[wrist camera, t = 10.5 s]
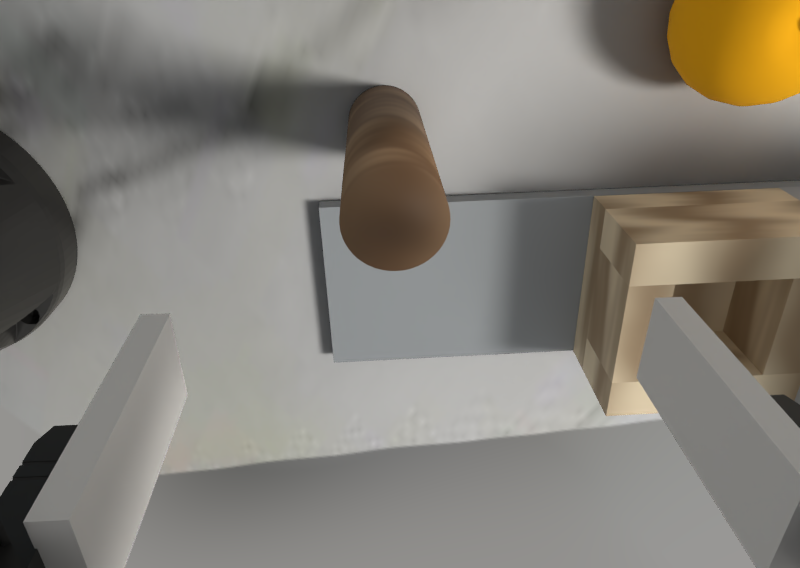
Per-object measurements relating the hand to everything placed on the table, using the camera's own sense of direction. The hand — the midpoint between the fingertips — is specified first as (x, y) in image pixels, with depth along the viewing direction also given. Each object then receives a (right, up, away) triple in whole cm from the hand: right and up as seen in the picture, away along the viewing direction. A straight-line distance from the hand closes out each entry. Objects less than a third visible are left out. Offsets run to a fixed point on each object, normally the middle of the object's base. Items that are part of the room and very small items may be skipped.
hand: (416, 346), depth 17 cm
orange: (+17, +16, +16) cm, 28 cm away
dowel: (-1, +11, +17) cm, 21 cm away
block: (+17, +2, +22) cm, 28 cm away
